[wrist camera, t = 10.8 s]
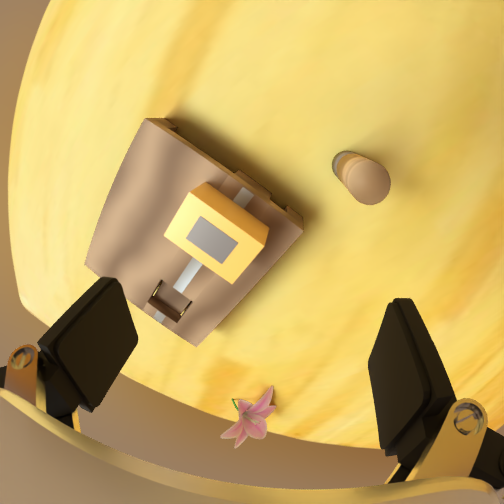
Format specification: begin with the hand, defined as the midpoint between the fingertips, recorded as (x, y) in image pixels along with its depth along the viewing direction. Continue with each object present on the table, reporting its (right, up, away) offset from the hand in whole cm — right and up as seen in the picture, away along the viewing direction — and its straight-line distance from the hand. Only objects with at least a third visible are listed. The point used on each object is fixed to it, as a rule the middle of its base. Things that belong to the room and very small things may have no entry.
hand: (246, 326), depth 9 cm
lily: (+1, -23, +34) cm, 41 cm away
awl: (+9, +11, +16) cm, 21 cm away
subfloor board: (-8, +4, +22) cm, 24 cm away
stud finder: (-2, +5, +16) cm, 17 cm away
